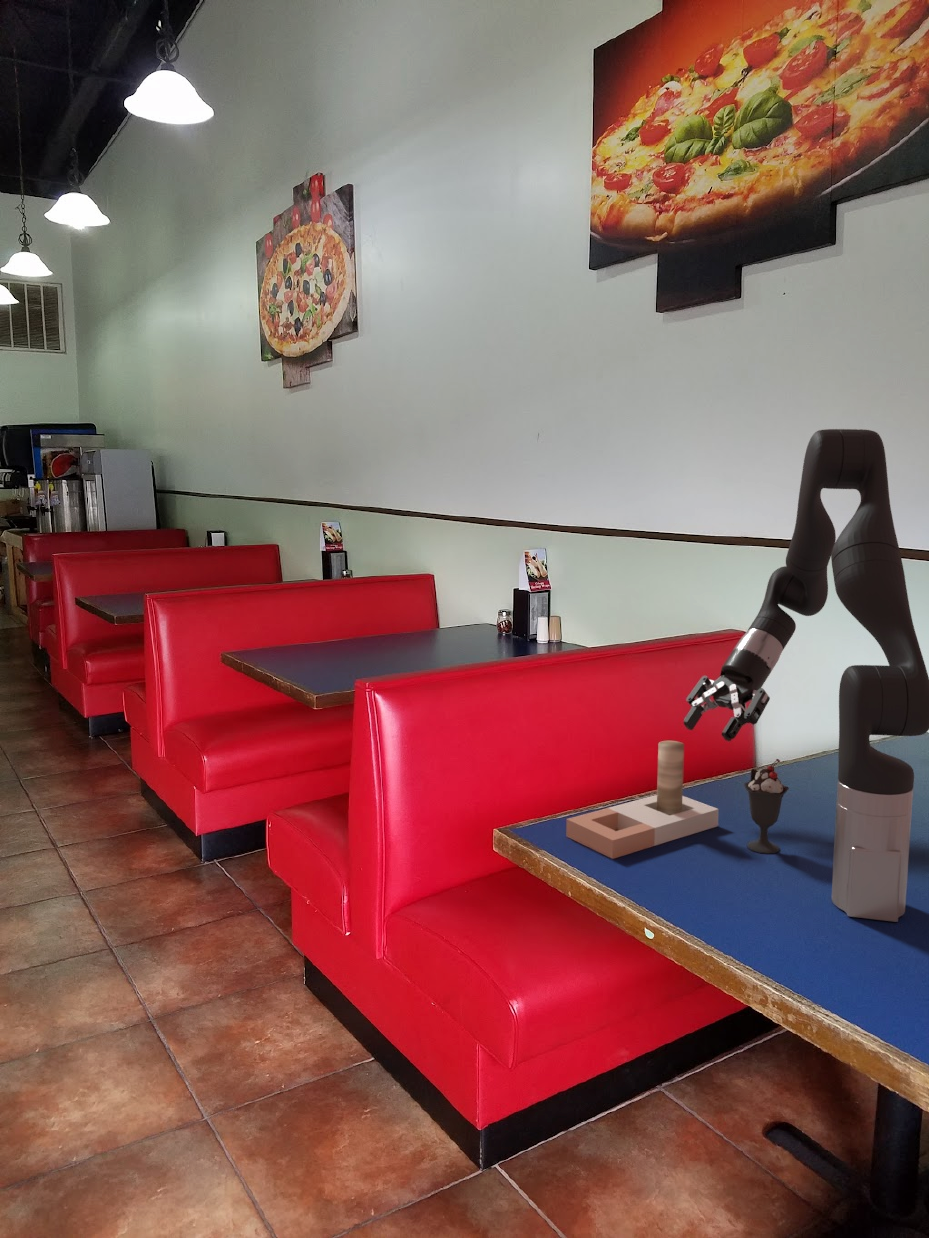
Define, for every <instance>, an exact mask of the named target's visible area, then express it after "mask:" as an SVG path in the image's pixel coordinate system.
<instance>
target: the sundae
mask: <svg viewBox="0 0 929 1238" xmlns="http://www.w3.org/2000/svg"><path fill="white" fill-rule="evenodd" d="M780 762H781V760H780V759H778V758H776V759H775V761H773V763H772V764H771V765H768V766H767V767H766V768H761V769H759V770H757V769H755V768H751V769H750V780H748V781H746V782H743V786H744V788H745V790H746V791H747V792H748V798H749V799H748V800H749V801H748V802H749V810H750V815H751V819H752V821H753V822H754V823H755V824H756V825H757V826H758V827H759V830H760V831H759V836H758V837H759V838H758V839H757V840H752V841H749V842H748V843H746V847H747V848H748V850H749V851H752V852H753V853H758V854H766V855H771V854H772V855H773V854H777V853H778V852H779V851H780V847H779V845H778V844H776V843H773V842H770V840H769V838H768V837H769V836H768V830H769V828H770V827H772V826H773V825H775V824H776V823H777V821H778V819H779V816H780V813H781V812H780V811H781V805H782V801H783V797H784V795H785V794H786V793H787V792H788V791H789V787H788V786H786V785H784V784H783V783H782V781H781V780H780V778H779V777H778V776H779V775H778V773H777V772H775V766H776V764H778V763H780Z"/></svg>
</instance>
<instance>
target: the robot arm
mask: <svg viewBox="0 0 929 1238" xmlns="http://www.w3.org/2000/svg"><path fill="white" fill-rule="evenodd" d="M807 443H808V444H807V446H806V449H805V450H806V451H805V453H804V459H803V466H802V472H801V478H800V479H801V480H800V487H799V493H798V499H797V500H798V501H797V511H796V518H795V526H794V530H793V534H792V537H791V540H790V542H789V543H790V544H789V546H788V550H787V553H786V557H785V565H784V566H781V567H779V568H777V569H776V570H774V571H773V572H772V573H771V575H770V577H769V579H768V582H767V584H766V585H767V586H766V589H765V594H764V599H763V601H762V605H761V607H760V609H759V612H758V613H757V615H756V616H755V618H754V620H753V621H752V623H751V625H750V626H749V627H748V629H747V630H746V631H745V633H744V634H743V635H742V636H741V637H740V638H739V641H738V642H737V643H736V645H735V646H734V647H733V649H732V651H731V652H730V654H729V656H728V657H727V658H726V659H725V662H724V663H723V664H722V667H721V670H720V675H719V676H718V677H717V678H716V679H715V680H713V679H709V677H708V676H707V675H702V676H701V677H700V679H699V680H698V682H697V683H696V684H695V686H694V687H693V689H692V690H691V691H690V693H689V694H688V695H687V696H686V699H685V701H686V702H687V703H688V705H689V706H691V708H690V710H689V711H688V713H687V714H686V715H685V717H684V718H683V725H684V726H685V728H686V729H687V730H689V731H693V730H694V729H695V727H696V726H697V724H698V722H699V721H700V719H701V718H702V717H703V713H706V712H707V711H709V710H715V709H717V708H719V707H720V708H727V709H729V710H730V711H731V710H732V711H733V716H731V717H730V718H729V721H728V722H727V724H726V725H725V726H724V728H723V729H722V732H721V736H722V738H723V739H724V740H725V741H728V742H731V741H732V740H734V739H735V738H736V737H737V735H738V734H739V732H740V731H741V730H742V729H741V728H742V727H743V726H744V725H747V724H751V725H756V724H757V723H758V721H759V720H760V718H761V716H762V715H763V713H764V710H765V709H766V707H767V705H768V703H769V702H770V699H771V697H770V696H769V695H768V693H767V692H766V691H765V689H764V687H763V686H764V684H765V683H766V681H767V679H768V678H769V676H770V674H771V673H772V671H774V667H776V665H777V663H778V661H779V659H780V657H781V655H782V653H783V651H784V649H785V648H786V646H787V645H788V644H789V641H790V640H791V638H792V637H793V635H794V633H795V631H796V628H797V625H796V621H795V620H794V618H793V617H792V616H791V615H790V614H788V613H787V612H786V611H785V610H784V609H783V608H781V606H782V607H784V608H786V609H789V610H790V611H792V612H795V613H797V614H799V615H801V616H805V617H811V616H814V615H816V614H819V612H821V611H822V610H823V608H824V607H825V605H826V603H827V599H828V595H829V583H828V565H829V563H830V559H831V568H832V575H833V582H834V588H835V593H836V595H837V598H838V599H839V601H840V603H841V604H842V605H843V607H844V608H845V609H846V610H847V611H848V613H850V614H851V616H852V617H853V618H854V619H855V620H856V621H857V622H858V623H859V624H860V625H862V627H863V628H864V629H865V630H867V632H868V633H869V634H870V635H871V636H872V637H873V638H874V640H875V641H876V642H877V644H878V645H879V646H880V648H881V650H882V652H883V653H884V655H885V658H886V660H887V662H888V665H880V664H879V665H870V664H868V665H867V664H857V665H856V664H854V665H850V666H848V667H846V669H845V670H844V671H843V673H842V674H841V678H840V681H839V690H838V691H839V692H838V714H839V715H838V723H839V724H838V727H839V728H838V755H837V756H838V773H837V790H836V791H837V794H836V810H835V825H834V826H835V827H834V828H835V829H834V844H833V845H834V846H833V864H832V881H831V884H832V886H831V897H830V898H831V902H832V903H833V904H834V905H835V906H836V907H837V908H838V909H840V910H841V911H844V912H845V913H846V916H848V917H852V918H862V919H867V920H868V919H869V920H877V921H886V922H895V923H896V922H897V923H898V922H899V918H900V917H901V916H903V915H904V914H905V912H906V903H907V889H908V887H907V886H908V872H909V871H908V870H909V856H910V855H909V854H910V843H911V841H910V840H911V826H912V825H911V823H912V810H913V798H914V797H913V795H914V784H915V783H914V781H915V773H914V768H913V767H912V766H911V765H910V764H909V763H907V762H906V761H905V760H903V759H901V758H899V757H896V756H893V755H890V754H887V753H884V752H882V751H880V750H878V749H876V748H874V747H873V746H871V743H870V736H888V737H889V736H890V737H891V736H892V737H893V736H895V737H897V736H898V737H917V736H922V735H925V734H926V733H928V731H929V673H928V670H927V667H926V663H925V660H924V656H923V653H922V651H921V648H920V643H919V640H918V637H917V634H916V630H915V627H914V626H915V625H914V622H913V617H912V613H911V607H910V602H909V596H908V590H907V583H906V575H905V569H904V565H903V561H902V554H901V550H900V546H899V541H898V538H897V533H896V529H895V524H894V520H893V513H892V508H891V501H890V490H889V478H888V467H887V459H886V458H887V457H886V451H885V444H884V442H883V439H882V437H881V435H880V434H879V433H878V432H876V431H874V430H870V429H860V428H859V429H856V428H854V429H852V428H849V429H848V428H847V429H846V428H845V429H844V428H829V429H828V428H827V429H819V430H816V431H815V432H814V433H813V434H812V436H811V437H810V439H809V441H808V442H807ZM823 489H827V490H828V489H829V490H832V489H833V490H857V491H858V493H859V495H860V503H859V504H858V506H857V509H856V511H855V513H854V514H853V515H852V517H851V518H850V520H849V521H848V523H847V524H846V525H845V527H844V528H843V530H842V531H841V532H840V534H839V535H838V537H836V528H835V526H834V522H833V521H832V519H831V517H830V515H829V514H828V511H827V510H826V508H825V506H824V504H823V501H822V498H821V497H822V495H821V493H822V490H823ZM711 697H712V698H713V700H712V699H711ZM748 702H750V703H749V705H748V707H747V703H748Z"/></svg>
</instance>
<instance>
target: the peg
mask: <svg viewBox="0 0 929 1238" xmlns="http://www.w3.org/2000/svg"><path fill="white" fill-rule="evenodd" d="M657 748H658V749H657V752H658V754H657V782H656V783H657V784H656V786H657V787H656V790H657V791H656V792H657V793H656V795H657V811H660V812H662V813H665V814H667V815H674V814H677V813H680V812H682V796H684V795H683V789H684V788H683V787H684V786H683V785H684V759H685V744H684V743H683V742H680V741H677V740H663V741H659V742H658V747H657Z"/></svg>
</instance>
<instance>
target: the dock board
mask: <svg viewBox="0 0 929 1238" xmlns="http://www.w3.org/2000/svg"><path fill="white" fill-rule="evenodd" d="M719 810H720V809H719V808H717V807H715V806H712V805H711V806H710V805H709V804H705V803H703V802H700V801H697V800H696V799H692V798H690V797H687V796H685V795H683V796H682V812H680V813H677V814H674V815H667V814H665V813H662V812H660V811H657V794H654V795H651V796H647V797H644V798H639V799H636V800H632V801H629V802H625V803H620V804H618V805H614V806H609V807H606V808H603V809H600V810H595V811H592V812H587V813H583V814H581V815H577V816H573V817H569V818H566V834H565V835H566V838H569V839H570V840H573V841H575V842H577V843H579V844H581V845H583V846H585V847H587V848H589V849H591V850H593V851H595V852H597V853H599V854H602V855H603V856H606V857H608V858H609V859H612V860H614V859H617V858H620V857H623V856H626V855H630V854H633V853H635V852H638V851H639V852H640V851H642V850H646V849H649V848H653V847H655V846H659V845H661V844H664V843H668V842H671V841H675V840H677V839H680V838H684V837H687V836H691V835H694V834H697V833H700V832H703V831H706V830H710V829H714V828H716V827H719Z"/></svg>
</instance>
